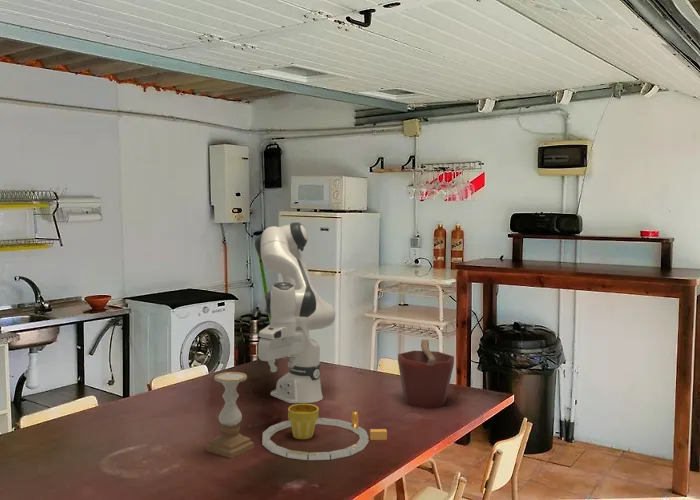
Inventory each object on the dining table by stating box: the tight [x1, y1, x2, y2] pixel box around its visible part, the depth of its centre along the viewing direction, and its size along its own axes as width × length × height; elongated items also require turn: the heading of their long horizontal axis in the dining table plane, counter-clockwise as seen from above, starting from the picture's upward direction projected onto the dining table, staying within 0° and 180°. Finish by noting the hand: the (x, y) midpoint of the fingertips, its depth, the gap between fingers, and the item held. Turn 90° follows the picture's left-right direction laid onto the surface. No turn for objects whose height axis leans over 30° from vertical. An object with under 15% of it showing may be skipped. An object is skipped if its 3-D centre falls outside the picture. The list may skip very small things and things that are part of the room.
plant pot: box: [287, 403, 320, 440], centre depth 212 cm, size 10×10×10 cm
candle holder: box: [205, 371, 255, 459], centre depth 199 cm, size 11×11×24 cm
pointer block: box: [369, 428, 388, 441], centre depth 211 cm, size 6×2×3 cm, turn 95°
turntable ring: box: [261, 410, 370, 461], centre depth 209 cm, size 35×35×6 cm
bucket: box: [397, 339, 455, 409], centre depth 254 cm, size 24×22×25 cm
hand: (282, 369), depth 217 cm, fingers open, 7 cm apart
